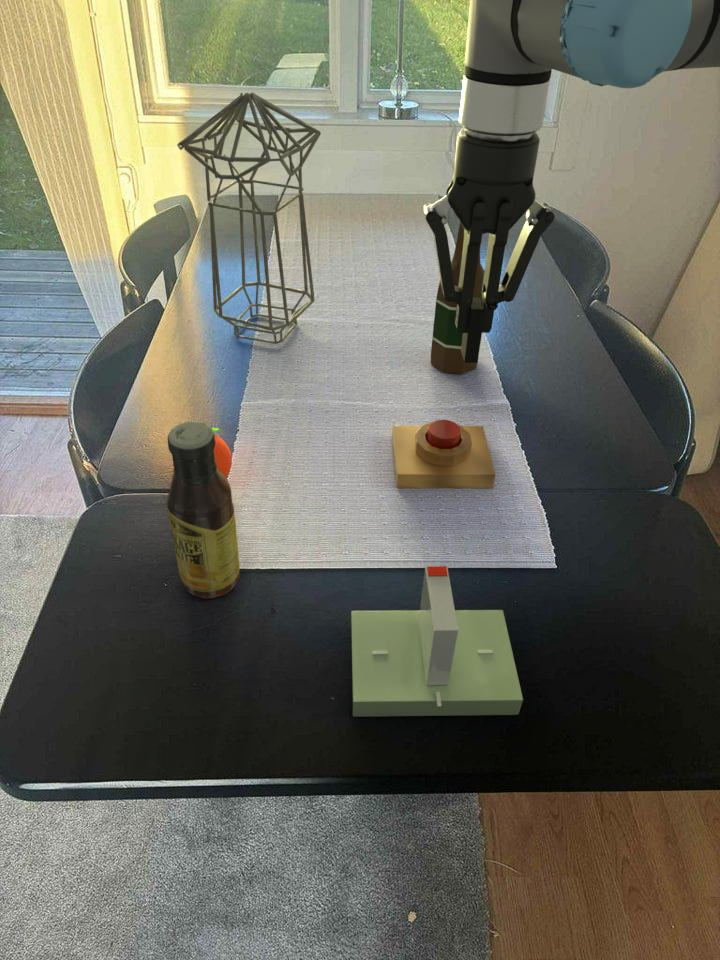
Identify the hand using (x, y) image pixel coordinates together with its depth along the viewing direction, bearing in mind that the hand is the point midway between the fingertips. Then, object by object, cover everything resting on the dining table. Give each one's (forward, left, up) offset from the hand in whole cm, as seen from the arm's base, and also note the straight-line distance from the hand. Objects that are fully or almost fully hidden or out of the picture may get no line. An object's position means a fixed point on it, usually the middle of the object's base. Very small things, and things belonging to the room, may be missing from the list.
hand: (469, 356), depth 79 cm
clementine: (+19, +25, -16) cm, 35 cm away
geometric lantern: (+44, -3, -16) cm, 47 cm away
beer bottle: (+17, -19, -16) cm, 30 cm away
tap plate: (-18, +25, -16) cm, 35 cm away
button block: (+2, +1, -16) cm, 16 cm away
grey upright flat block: (-18, +25, -14) cm, 34 cm away
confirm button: (+2, +1, -13) cm, 13 cm away
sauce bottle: (+5, +34, -16) cm, 38 cm away
